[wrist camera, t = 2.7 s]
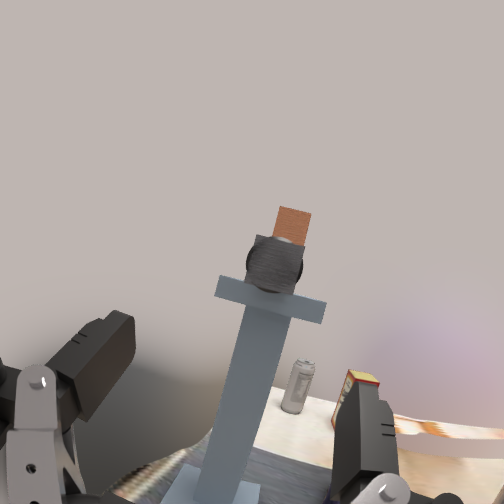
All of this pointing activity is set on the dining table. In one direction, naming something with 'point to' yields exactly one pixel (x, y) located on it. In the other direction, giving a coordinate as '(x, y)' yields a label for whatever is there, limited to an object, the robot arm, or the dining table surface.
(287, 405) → the energy drink can
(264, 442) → the dining table surface
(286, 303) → the shelf stand
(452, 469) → the dining table surface
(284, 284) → the hammer
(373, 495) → the robot arm
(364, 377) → the baking soda box
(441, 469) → the dining table surface
